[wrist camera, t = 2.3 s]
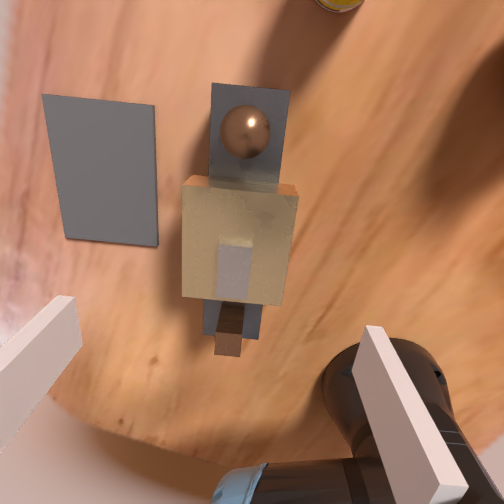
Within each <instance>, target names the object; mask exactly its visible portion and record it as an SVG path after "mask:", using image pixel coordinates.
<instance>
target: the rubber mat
mask: <svg viewBox="0 0 504 504" xmlns="http://www.w3.org/2000/svg"><path fill="white" fill-rule="evenodd" d="M42 100H43V106H44V112H45V118H46V124H47V130H48V136H49V142H50V148H51V154H52V160H53V166H54V173H55V179H56V185H57V191H58V197H59V203H60V209H61V215H62V221H63V227H64V233H65V238H75V239H85V240H95V241H105V242H115V243H125V244H135V245H146V246H156V247H157V246H158V245H159V233H158V201H157V169H156V138H155V106H154V105H145V104H135V103H125V102H116V101H106V100H96V99H87V98H77V97H67V96H58V95H48V94H42Z"/></svg>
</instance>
